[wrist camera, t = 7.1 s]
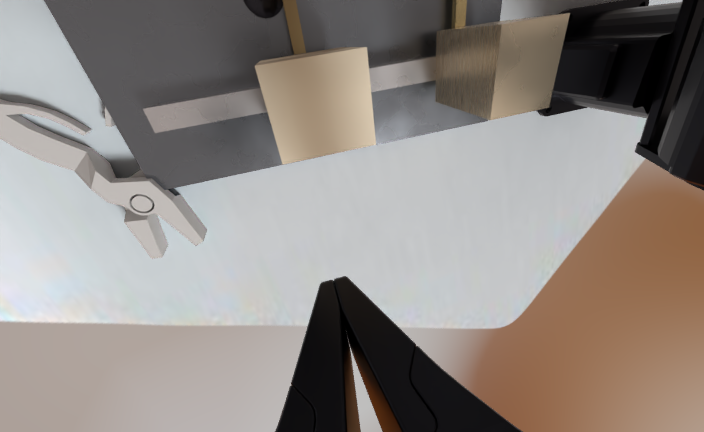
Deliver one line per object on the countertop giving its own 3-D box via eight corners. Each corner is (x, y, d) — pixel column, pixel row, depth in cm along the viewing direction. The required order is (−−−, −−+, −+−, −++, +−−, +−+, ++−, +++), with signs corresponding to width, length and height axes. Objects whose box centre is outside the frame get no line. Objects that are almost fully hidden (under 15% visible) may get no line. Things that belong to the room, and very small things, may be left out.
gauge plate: (500, -100, 15) (659, -203, 9) (479, 117, 20) (564, 146, 14) (30, -50, 12) (-221, -150, 6) (160, 185, 18) (101, 255, 12)
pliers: (86, -76, 11) (251, 226, 19) (104, -63, 12) (252, 215, 20) (-195, -9, 10) (102, 279, 18) (-142, -2, 12) (113, 263, 20)
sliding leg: (323, -49, 13) (353, -106, 8) (346, 116, 17) (375, 144, 12) (234, -38, 12) (209, -93, 8) (280, 130, 16) (282, 164, 12)
